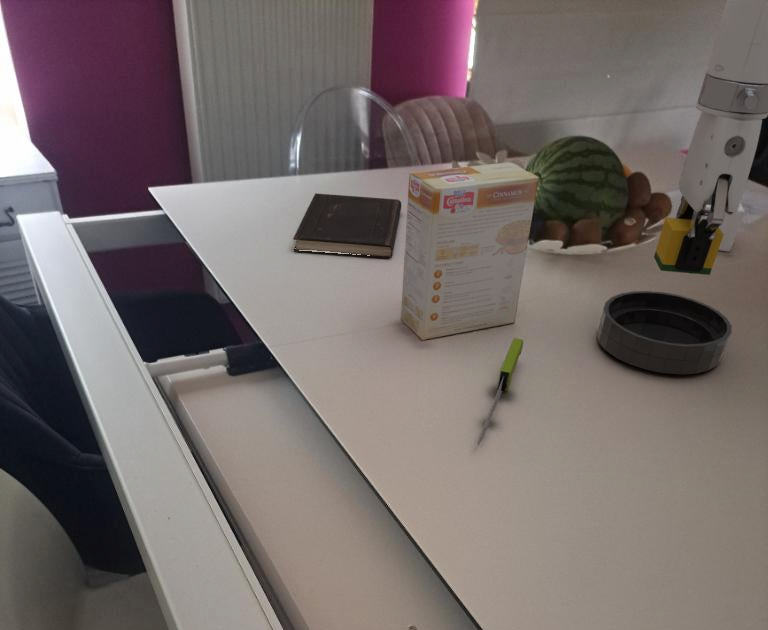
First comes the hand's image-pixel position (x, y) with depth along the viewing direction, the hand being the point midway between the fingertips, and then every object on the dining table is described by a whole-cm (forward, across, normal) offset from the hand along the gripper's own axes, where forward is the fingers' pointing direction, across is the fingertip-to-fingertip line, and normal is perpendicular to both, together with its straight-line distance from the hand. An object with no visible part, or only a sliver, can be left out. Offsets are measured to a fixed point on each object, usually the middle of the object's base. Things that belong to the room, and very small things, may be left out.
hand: (683, 260), depth 92 cm
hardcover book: (+12, +35, +46) cm, 59 cm away
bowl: (+12, 0, 0) cm, 12 cm away
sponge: (+1, 0, 0) cm, 1 cm away
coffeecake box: (+12, +3, +27) cm, 30 cm away
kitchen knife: (+12, -18, +22) cm, 31 cm away
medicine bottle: (+12, +43, -17) cm, 48 cm away
